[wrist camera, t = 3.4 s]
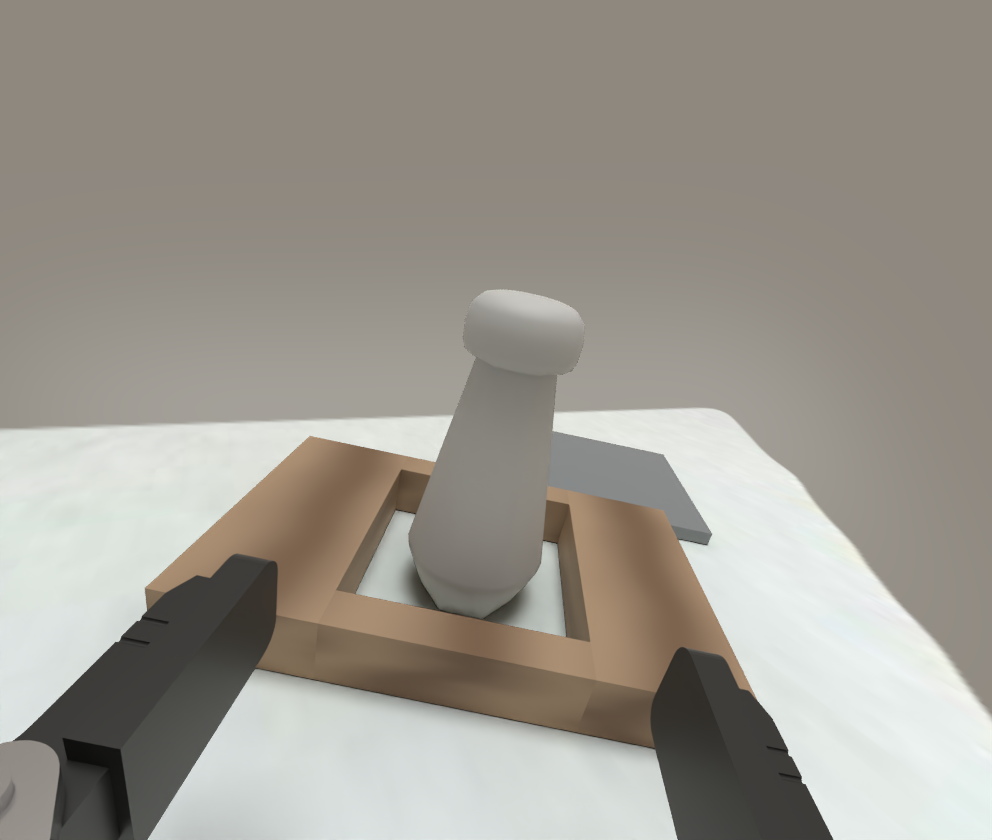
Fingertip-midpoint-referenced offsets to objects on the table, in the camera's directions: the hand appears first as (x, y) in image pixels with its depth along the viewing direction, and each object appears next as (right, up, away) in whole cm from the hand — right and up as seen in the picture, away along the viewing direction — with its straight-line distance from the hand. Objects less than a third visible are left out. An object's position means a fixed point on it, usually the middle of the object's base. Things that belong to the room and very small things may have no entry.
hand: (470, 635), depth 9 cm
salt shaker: (-1, -3, +12) cm, 13 cm away
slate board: (+8, 0, +24) cm, 25 cm away
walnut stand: (-1, -3, +12) cm, 12 cm away
